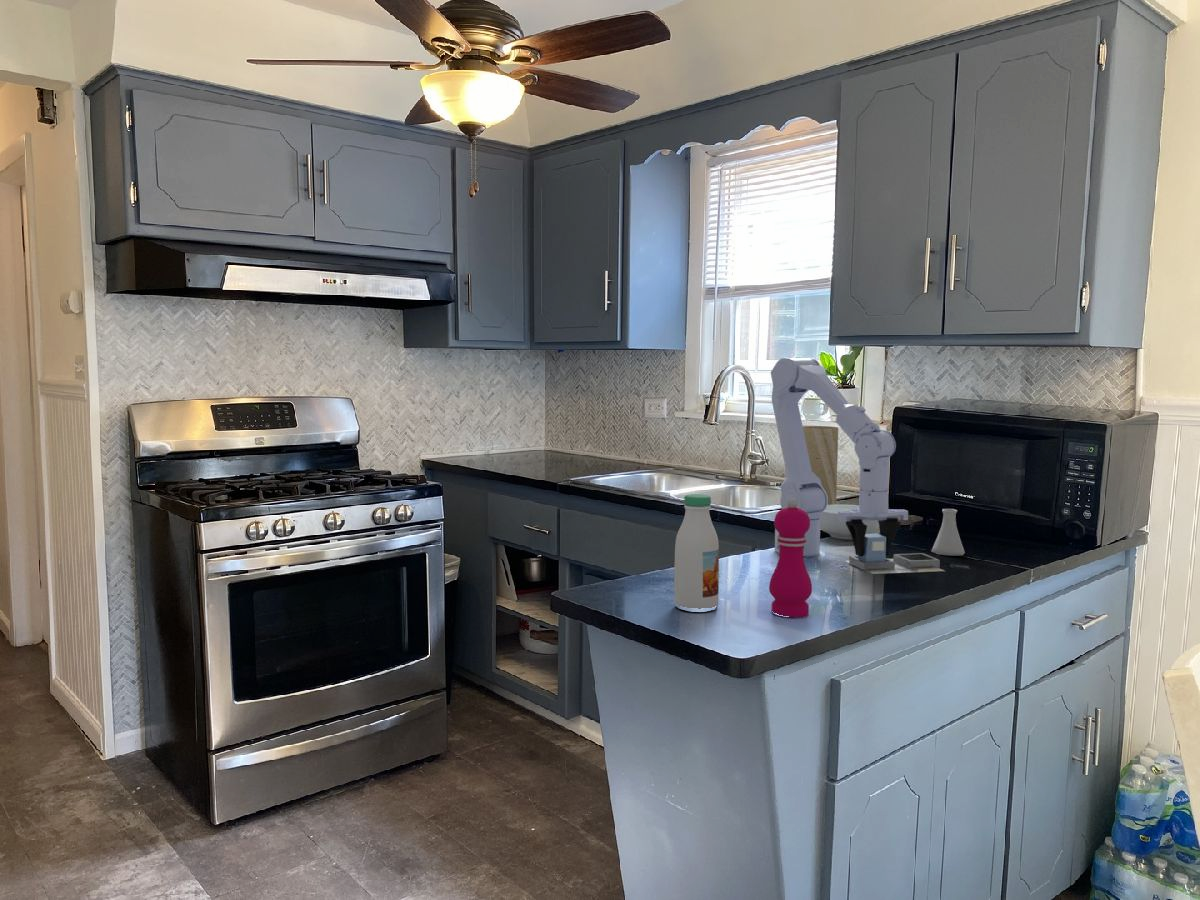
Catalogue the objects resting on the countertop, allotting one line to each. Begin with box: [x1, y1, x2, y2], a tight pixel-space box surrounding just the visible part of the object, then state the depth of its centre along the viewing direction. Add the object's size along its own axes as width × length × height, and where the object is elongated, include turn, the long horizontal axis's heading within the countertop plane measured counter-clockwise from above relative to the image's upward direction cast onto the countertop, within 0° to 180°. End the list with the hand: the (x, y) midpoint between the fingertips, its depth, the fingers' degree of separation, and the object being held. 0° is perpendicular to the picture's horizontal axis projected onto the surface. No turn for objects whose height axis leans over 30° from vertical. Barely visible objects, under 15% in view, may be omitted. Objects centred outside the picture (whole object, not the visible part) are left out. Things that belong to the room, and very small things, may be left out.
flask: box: [931, 508, 966, 557], centre depth 201 cm, size 7×7×10 cm
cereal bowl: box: [820, 504, 880, 541], centre depth 221 cm, size 17×17×7 cm
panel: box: [845, 552, 946, 575], centre depth 185 cm, size 17×12×3 cm
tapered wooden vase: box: [799, 425, 839, 505], centre depth 249 cm, size 10×10×25 cm
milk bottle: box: [673, 493, 720, 609], centre depth 156 cm, size 8×8×20 cm
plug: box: [857, 532, 886, 562], centre depth 183 cm, size 4×5×6 cm
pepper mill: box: [768, 498, 813, 618], centre depth 152 cm, size 7×7×20 cm
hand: (871, 555), depth 184 cm, fingers open, 5 cm apart
